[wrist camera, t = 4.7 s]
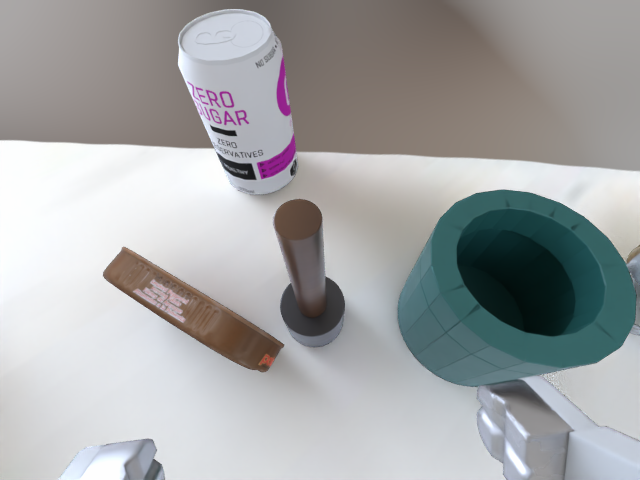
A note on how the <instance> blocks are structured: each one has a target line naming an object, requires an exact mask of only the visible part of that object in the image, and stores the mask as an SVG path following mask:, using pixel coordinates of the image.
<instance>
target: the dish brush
mask: <svg viewBox="0 0 640 480" xmlns="http://www.w3.org/2000/svg"><path fill="white" fill-rule="evenodd" d="M273 225H274V228H275V232H276V235H277V238H278V241H279V245H280V248H281V251H282V255H283V258H284V261H285V264H286V268H287V271H288V274H289V278H290V281H291V283H290V284H289V285H288V287H287V288H286V289H285V291H284V293H283V295H282V298H281V304H280V308H281V314H282V317H283V320H284V322H285V324H286V326H287V328H288V330H289V332H290V334H291V335H292V336H293V338H294V339H295V340H296V341H298V342H299V343H301V344H303V345H305V346H309V347H320V346H324V345H326V344H329V343H330V342H332V341H333V340H334V339H335V338H336V337H337V336H338V334H339V333H340V331H341V328H342V325H343V318H344V309H345V301H344V296H343V293H342V291H341V289H340V288H339V286H338V285H337V284H336V283H335V282H334V281H332V280H331V279H329V278H327V277H325V262H324V242H323V223H322V214H321V211H320V210H319V208H318V207H317V206H316V205H315V204H313V203H312V202H310V201H307V200H303V199H295V200H291V201H288V202H286V203H284V204H282V205H281V206H280V207H279V208H278V209H277V211H276V213H275V215H274V218H273Z"/></svg>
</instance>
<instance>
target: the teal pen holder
mask: <svg viewBox="0 0 640 480" xmlns="http://www.w3.org/2000/svg"><path fill="white" fill-rule="evenodd" d="M636 296H637V295H636V291H635V288H634V285H633V282H632V279H631V276H630V273H629V270H628V267H627V266H626V263H625V261H624V260H623V259H622V257H621V256H620V254H619V253H618V251H617V250H616V248H615V247H614V245H613V244H612V242H611V241H610V240H609V239H608V238H607V237H606V236H605V235H604V234H603V233H602V232H601V231H600V230H599V229H597V228H596V227H595V226H594V225H593V224H592V223H591V222H590V221H589V220H587V219H586V218H585V217H584V216H582V215H580V214H578V213H577V212H575V211H573V210H572V209H570V208H568V207H566V206H565V205H563V204H561V203H560V202H557V201H554V200H551V199H548V198H545V197H542V196H539V195H536V194H533V193H529V192H521V191H512V190H496V191H489V192H481V193H476V194H474V195H471V196H469V197H467V198H465V199H463V200H461V201H458V202H456V203H455V204H454V205H453V206H452V207H451V208H450V209H449V210H448V211H447V212H446V213H445V214H444V215H443V216H442V217H441V218H440V219H439V221H438V223H437V225H436V226H435V228H434V230H433V232H432V234H431V236H430V238H429V239H428V241H427V243H426V245H425V247H424V249H423V251H422V253H421V254H420V256H419V258H418V260H417V262H416V264H415V266H414V267H413V269H412V271H411V273H410V275H409V277H408V279H407V281H406V283H405V285H404V287H403V289H402V292H401V294H400V298H399V302H398V322H399V327H400V330H401V333H402V336H403V338H404V341H405V342H406V344H407V346H408V348H409V349H410V351H411V352H412V353H413V355H414V356H415V357H416V358H417V360H418V361H419V362H420V363H421V364H422V365H423V366H425V367H426V368H427V369H428V370H429V371H431V372H432V373H434V374H435V375H437V376H439V377H441V378H443V379H444V380H447V381H449V382H452V383H455V384H459V385H463V386H471V387H479V385H484V384H490V383H496V382H502V381H508V380H514V379H519V378H524V377H530V376H536V375H542V374H546V373H551V372H556V371H561V370H565V369H570V368H575V367H579V366H584V365H589V364H594V363H597V362H599V361H600V360H602V359H603V358H605V357H606V356H608V355H609V354H611V353H613V352H614V351H616V350H617V349H619V348H620V347H621V346H622V345H623V343H624V341H625V339H626V338H627V336H628V334H629V332H630V331H631V329H632V327H633V325H634V323H635V314H636Z"/></svg>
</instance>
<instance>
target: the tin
mask: <svg viewBox="0 0 640 480" xmlns="http://www.w3.org/2000/svg"><path fill="white" fill-rule="evenodd" d="M103 276H104V278H105V279H106V280H107V281H108V282H110V283H111V284H112V285H114V286H115V287H117V288H118V289H119V290H121V291H122V292H124V293H125V294H127V295H128V296H130V297H131V298H133V299H134V300H136V301H137V302H139V303H140V304H142V305H143V306H145V307H146V308H148V309H149V310H151V311H152V312H154V313H155V314H157V315H158V316H160V317H161V318H163V319H165V320H166V321H168V322H169V323H171V324H172V325H174V326H176V327H177V328H179V329H180V330H182V331H183V332H185V333H187V334H188V335H190V336H191V337H193V338H195V339H196V340H198V341H199V342H201V343H202V344H204V345H206V346H207V347H209V348H211V349H212V350H214V351H216V352H217V353H219V354H221V355H223V356H224V357H226V358H228V359H230V360H232V361H233V362H235V363H237V364H239V365H241V366H244V367H246V368H248V369H252V370H259V371H260V372H266V371H268V369H269V368H270V366H271V365H272V363H273V361H274V360H275V358H276V356H277V354H278V353H279V351H280V349H281V348H283V347H284V344H283V343H281V342H280V341H278V340H277V339H275V338H274V337H273V336H271V335H270V334H268V333H266V332H265V331H264V330H262V329H260V328H259V327H257V326H256V325H254V324H252V323H251V322H249V321H247V320H246V319H244V318H243V317H241V316H239V315H238V314H236V313H234V312H233V311H231V310H230V309H228V308H226V307H225V306H223V305H221V304H220V303H218V302H217V301H215V300H213V299H211V298H210V297H208V296H207V295H205V294H203V293H201V292H200V291H198V290H197V289H195V288H193V287H192V286H190V285H188V284H186V283H185V282H183V281H181V280H180V279H178V278H177V277H175V276H173V275H171V274H170V273H168V272H166V271H165V270H163V269H161V268H160V267H158V266H156V265H155V264H153V263H151V262H150V261H148V260H147V259H145V258H143V257H142V256H140V255H138V254H137V253H135V252H133V251H131V250H129V249H128V248H126V247H122V250H121V252H120V253H119V254H118V255H117V256H116V257H115V259H114V260H113V261H112V262H111V263H110V264H109V265H108V267H107V268H106V269H105V271H104V272H103Z"/></svg>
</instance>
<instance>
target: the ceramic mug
mask: <svg viewBox="0 0 640 480" xmlns="http://www.w3.org/2000/svg"><path fill="white" fill-rule="evenodd" d="M626 266H627V267H628V270H629V272H631V273H632V275H633V277H634V278H635V280H636V281H637V282H638V284H639V285H640V245H639V246H638V247H636V248H635V249H634V250H633V251H632V252H631V253H630V254H629V256H628V258H627V264H626ZM629 333H631V334H635V335H640V326H638V325H636V324H634V325H633V327H632V329H631V331H630V332H629Z"/></svg>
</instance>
